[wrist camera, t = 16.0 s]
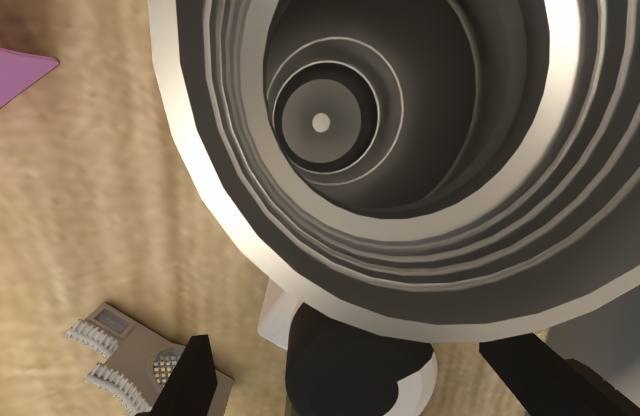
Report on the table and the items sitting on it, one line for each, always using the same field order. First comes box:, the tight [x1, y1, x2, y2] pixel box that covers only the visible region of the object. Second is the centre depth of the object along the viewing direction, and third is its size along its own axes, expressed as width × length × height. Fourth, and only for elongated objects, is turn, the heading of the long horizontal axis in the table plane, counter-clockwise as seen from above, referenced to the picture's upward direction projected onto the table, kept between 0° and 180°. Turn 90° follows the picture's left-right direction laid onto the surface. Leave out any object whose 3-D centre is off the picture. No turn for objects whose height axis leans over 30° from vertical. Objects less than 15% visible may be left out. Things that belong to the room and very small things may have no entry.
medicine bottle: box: [257, 277, 438, 416], centre depth 18 cm, size 7×7×12 cm
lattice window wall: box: [67, 302, 234, 416], centre depth 22 cm, size 12×2×6 cm, turn 51°
